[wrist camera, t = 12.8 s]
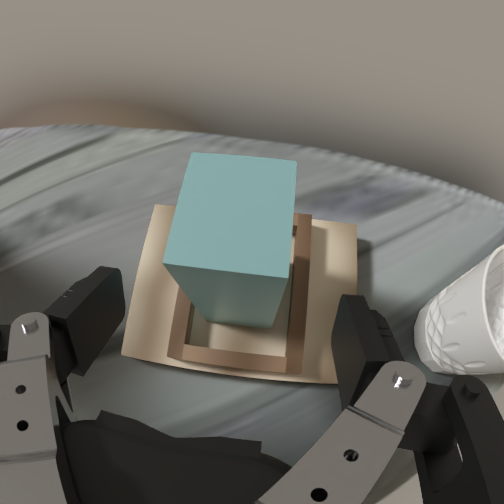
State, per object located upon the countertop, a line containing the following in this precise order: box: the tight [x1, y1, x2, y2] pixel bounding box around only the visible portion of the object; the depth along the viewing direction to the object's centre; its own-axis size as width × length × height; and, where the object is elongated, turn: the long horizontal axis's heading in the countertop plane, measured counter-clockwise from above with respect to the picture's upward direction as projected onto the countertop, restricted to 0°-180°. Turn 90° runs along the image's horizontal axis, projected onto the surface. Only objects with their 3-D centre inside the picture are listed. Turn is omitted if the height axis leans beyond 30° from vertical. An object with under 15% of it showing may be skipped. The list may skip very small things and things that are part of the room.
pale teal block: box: [162, 152, 297, 329], centre depth 17 cm, size 4×5×11 cm
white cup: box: [414, 245, 504, 375], centre depth 18 cm, size 8×8×10 cm
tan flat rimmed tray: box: [121, 205, 357, 384], centre depth 22 cm, size 16×12×4 cm
